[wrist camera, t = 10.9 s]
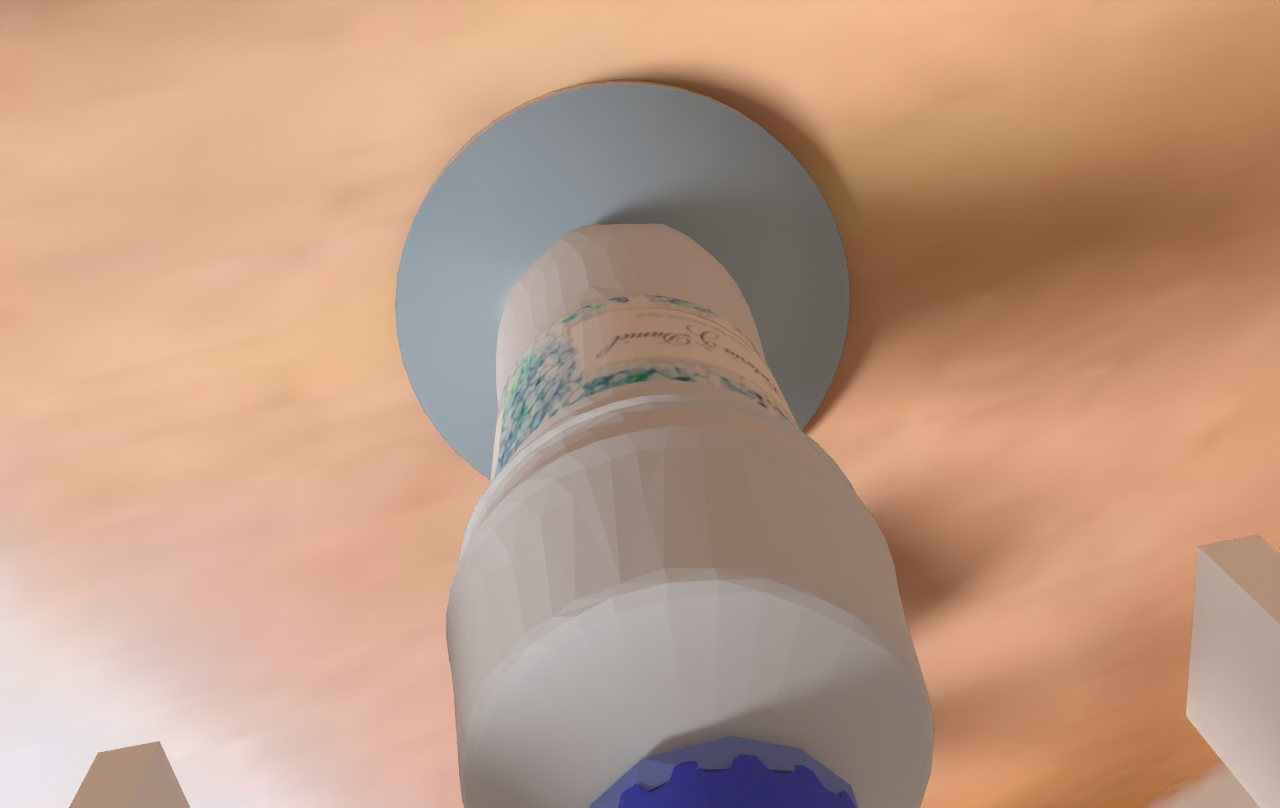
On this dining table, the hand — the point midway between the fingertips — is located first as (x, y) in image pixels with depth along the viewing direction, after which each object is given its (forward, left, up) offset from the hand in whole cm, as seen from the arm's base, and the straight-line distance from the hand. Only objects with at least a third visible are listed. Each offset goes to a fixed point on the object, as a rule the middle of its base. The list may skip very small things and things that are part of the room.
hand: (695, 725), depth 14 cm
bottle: (0, 0, -16) cm, 16 cm away
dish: (0, 0, -17) cm, 17 cm away
